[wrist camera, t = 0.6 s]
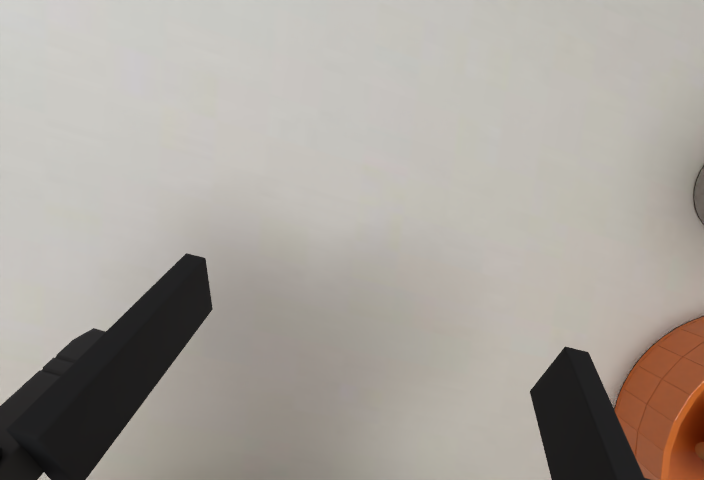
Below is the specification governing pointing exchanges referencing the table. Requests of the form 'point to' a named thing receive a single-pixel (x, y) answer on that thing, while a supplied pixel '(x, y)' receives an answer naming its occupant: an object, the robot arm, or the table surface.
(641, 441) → the pan
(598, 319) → the table surface
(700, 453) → the beige pug toy
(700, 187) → the thermos bottle
